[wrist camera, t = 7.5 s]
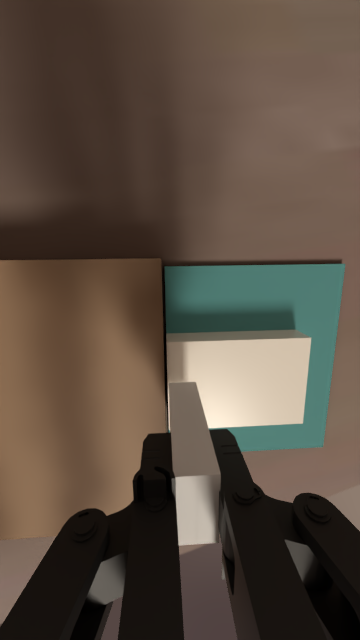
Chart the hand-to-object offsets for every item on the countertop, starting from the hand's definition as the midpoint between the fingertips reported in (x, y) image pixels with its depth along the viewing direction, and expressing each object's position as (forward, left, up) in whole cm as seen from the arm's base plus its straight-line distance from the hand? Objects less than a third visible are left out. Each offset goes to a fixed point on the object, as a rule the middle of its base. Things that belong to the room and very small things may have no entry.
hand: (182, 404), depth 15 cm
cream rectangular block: (+4, 0, -4) cm, 5 cm away
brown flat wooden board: (-7, -1, -4) cm, 8 cm away
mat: (+5, 0, -4) cm, 7 cm away
